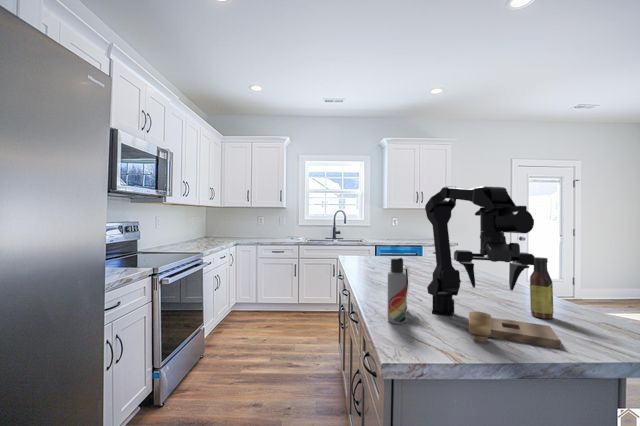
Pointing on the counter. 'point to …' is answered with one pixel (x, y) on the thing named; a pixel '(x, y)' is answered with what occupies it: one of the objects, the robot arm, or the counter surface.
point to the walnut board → (524, 332)
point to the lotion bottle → (397, 292)
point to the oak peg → (480, 325)
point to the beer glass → (406, 270)
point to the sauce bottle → (541, 290)
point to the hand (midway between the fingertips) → (492, 288)
